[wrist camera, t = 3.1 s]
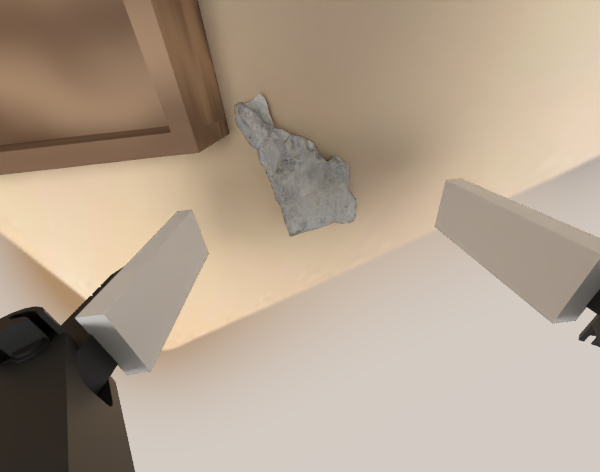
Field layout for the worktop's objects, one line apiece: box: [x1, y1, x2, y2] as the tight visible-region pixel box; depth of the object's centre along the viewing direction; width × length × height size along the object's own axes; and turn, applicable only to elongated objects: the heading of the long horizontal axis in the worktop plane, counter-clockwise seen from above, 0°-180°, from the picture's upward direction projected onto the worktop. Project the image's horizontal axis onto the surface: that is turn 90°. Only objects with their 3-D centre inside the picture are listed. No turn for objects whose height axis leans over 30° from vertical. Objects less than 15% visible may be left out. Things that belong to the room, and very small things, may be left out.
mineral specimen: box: [234, 94, 356, 236], centre depth 17 cm, size 6×12×4 cm, turn 21°
